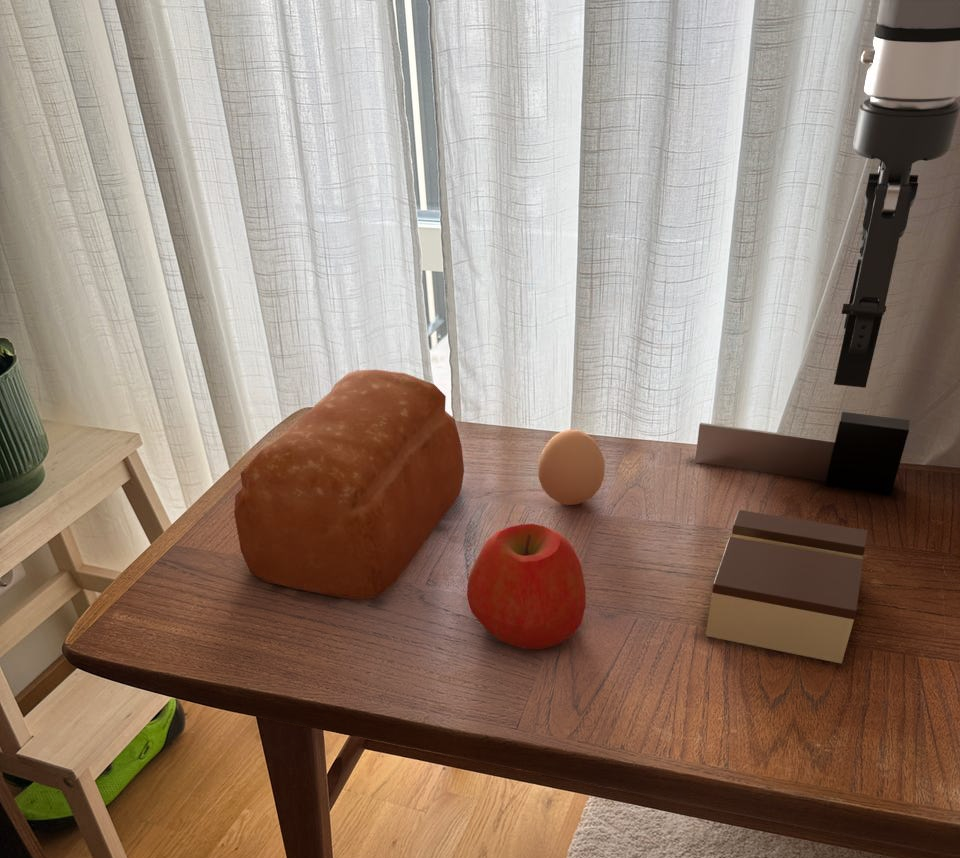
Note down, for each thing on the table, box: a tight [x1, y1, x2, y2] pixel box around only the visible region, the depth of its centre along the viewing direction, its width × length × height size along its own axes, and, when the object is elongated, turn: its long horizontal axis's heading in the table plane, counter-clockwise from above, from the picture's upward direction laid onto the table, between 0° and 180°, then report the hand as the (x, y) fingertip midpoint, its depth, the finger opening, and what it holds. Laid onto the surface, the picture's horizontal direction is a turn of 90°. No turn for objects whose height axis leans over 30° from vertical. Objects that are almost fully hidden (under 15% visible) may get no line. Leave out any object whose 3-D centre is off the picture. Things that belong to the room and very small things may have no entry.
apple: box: [466, 523, 587, 650], centre depth 84 cm, size 11×11×11 cm
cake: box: [705, 536, 864, 664], centre depth 84 cm, size 12×8×6 cm, turn 68°
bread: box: [233, 369, 465, 600], centre depth 96 cm, size 17×24×15 cm
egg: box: [537, 429, 606, 506], centre depth 101 cm, size 7×7×8 cm
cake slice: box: [731, 509, 868, 559], centre depth 89 cm, size 12×3×6 cm, turn 68°
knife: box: [694, 411, 911, 496], centre depth 104 cm, size 22×2×8 cm, turn 68°
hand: (854, 355), depth 87 cm, fingers open, 13 cm apart
